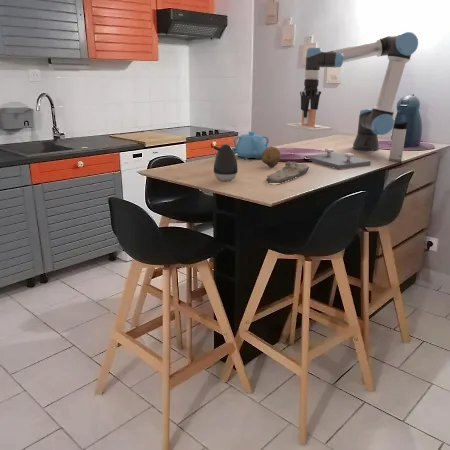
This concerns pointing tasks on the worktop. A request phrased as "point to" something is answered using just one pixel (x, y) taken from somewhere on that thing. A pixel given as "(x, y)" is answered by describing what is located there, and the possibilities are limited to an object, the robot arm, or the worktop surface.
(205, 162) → the worktop surface
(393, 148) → the travel mug
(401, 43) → the robot arm
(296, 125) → the keyhole plate
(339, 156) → the boss board
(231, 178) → the pump dispenser
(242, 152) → the decorative pot
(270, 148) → the brown round lump
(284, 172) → the long grey stone
